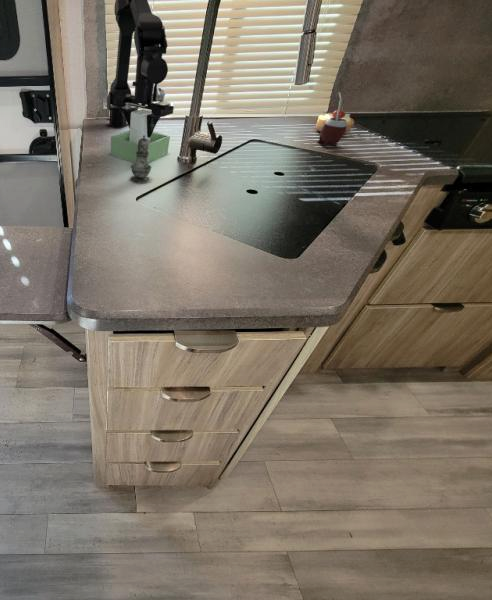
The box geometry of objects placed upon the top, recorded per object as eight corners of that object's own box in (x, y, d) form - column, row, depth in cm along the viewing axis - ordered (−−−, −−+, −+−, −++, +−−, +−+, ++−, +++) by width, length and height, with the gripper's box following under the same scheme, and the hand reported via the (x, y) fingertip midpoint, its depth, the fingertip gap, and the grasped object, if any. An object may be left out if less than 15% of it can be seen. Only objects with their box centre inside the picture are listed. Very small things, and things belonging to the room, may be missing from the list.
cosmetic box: (138, 156, 106) (141, 114, 98) (127, 152, 109) (130, 112, 100) (149, 151, 110) (153, 110, 101) (139, 148, 112) (142, 108, 104)
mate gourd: (333, 149, 112) (356, 99, 102) (309, 143, 117) (330, 95, 107) (341, 144, 116) (365, 95, 106) (318, 139, 120) (339, 91, 110)
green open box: (110, 154, 109) (110, 136, 105) (135, 144, 116) (137, 127, 112) (142, 165, 102) (144, 146, 98) (167, 154, 109) (170, 136, 106)
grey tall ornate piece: (126, 177, 95) (129, 133, 87) (143, 174, 97) (148, 130, 89) (135, 185, 91) (139, 139, 83) (154, 181, 93) (159, 136, 85)
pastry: (311, 133, 125) (322, 107, 119) (315, 126, 132) (325, 100, 126) (347, 139, 120) (360, 111, 114) (349, 130, 128) (361, 104, 122)
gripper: (188, 77, 94) (179, 135, 105) (137, 70, 104) (133, 124, 114) (166, 83, 88) (158, 144, 99) (114, 74, 98) (112, 131, 108)
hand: (140, 135), depth 105 cm, fingers open, 6 cm apart
